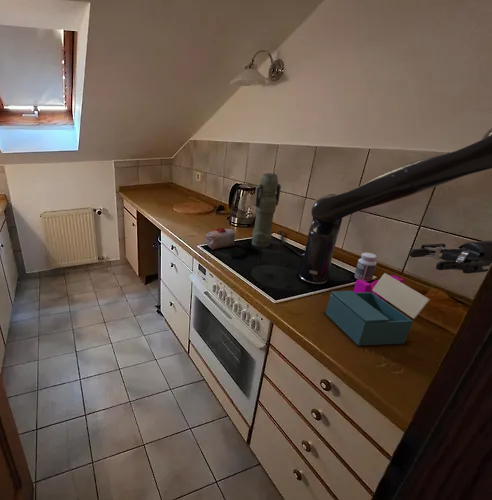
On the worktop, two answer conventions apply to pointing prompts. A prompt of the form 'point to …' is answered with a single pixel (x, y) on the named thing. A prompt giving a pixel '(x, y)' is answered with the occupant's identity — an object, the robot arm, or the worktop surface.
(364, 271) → the pill bottle
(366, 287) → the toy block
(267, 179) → the thermos
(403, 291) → the lid
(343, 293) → the box
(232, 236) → the food item
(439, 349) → the worktop surface
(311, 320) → the worktop surface
